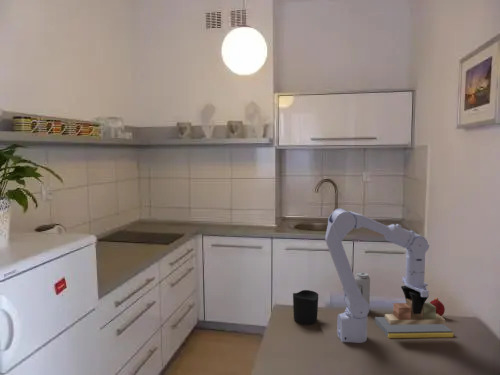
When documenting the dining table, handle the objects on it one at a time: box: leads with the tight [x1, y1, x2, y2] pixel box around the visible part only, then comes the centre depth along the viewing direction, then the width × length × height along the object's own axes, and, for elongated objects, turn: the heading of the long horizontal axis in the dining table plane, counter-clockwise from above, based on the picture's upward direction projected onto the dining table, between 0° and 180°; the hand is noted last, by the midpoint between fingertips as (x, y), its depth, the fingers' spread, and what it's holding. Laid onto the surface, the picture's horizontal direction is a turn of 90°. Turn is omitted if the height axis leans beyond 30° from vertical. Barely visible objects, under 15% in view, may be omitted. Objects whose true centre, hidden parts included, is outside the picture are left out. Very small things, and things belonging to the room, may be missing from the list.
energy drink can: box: [354, 271, 371, 305], centre depth 149 cm, size 6×6×15 cm
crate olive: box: [423, 302, 436, 319], centre depth 124 cm, size 4×4×4 cm
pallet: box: [384, 299, 446, 325], centre depth 124 cm, size 18×5×7 cm, turn 91°
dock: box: [374, 316, 454, 339], centre depth 132 cm, size 22×13×2 cm, turn 92°
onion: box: [429, 297, 446, 317], centre depth 142 cm, size 6×6×8 cm
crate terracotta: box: [392, 302, 411, 320], centre depth 124 cm, size 4×4×4 cm
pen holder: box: [292, 289, 319, 325], centre depth 140 cm, size 9×9×10 cm
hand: (413, 310), depth 124 cm, fingers closed on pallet, 4 cm apart
